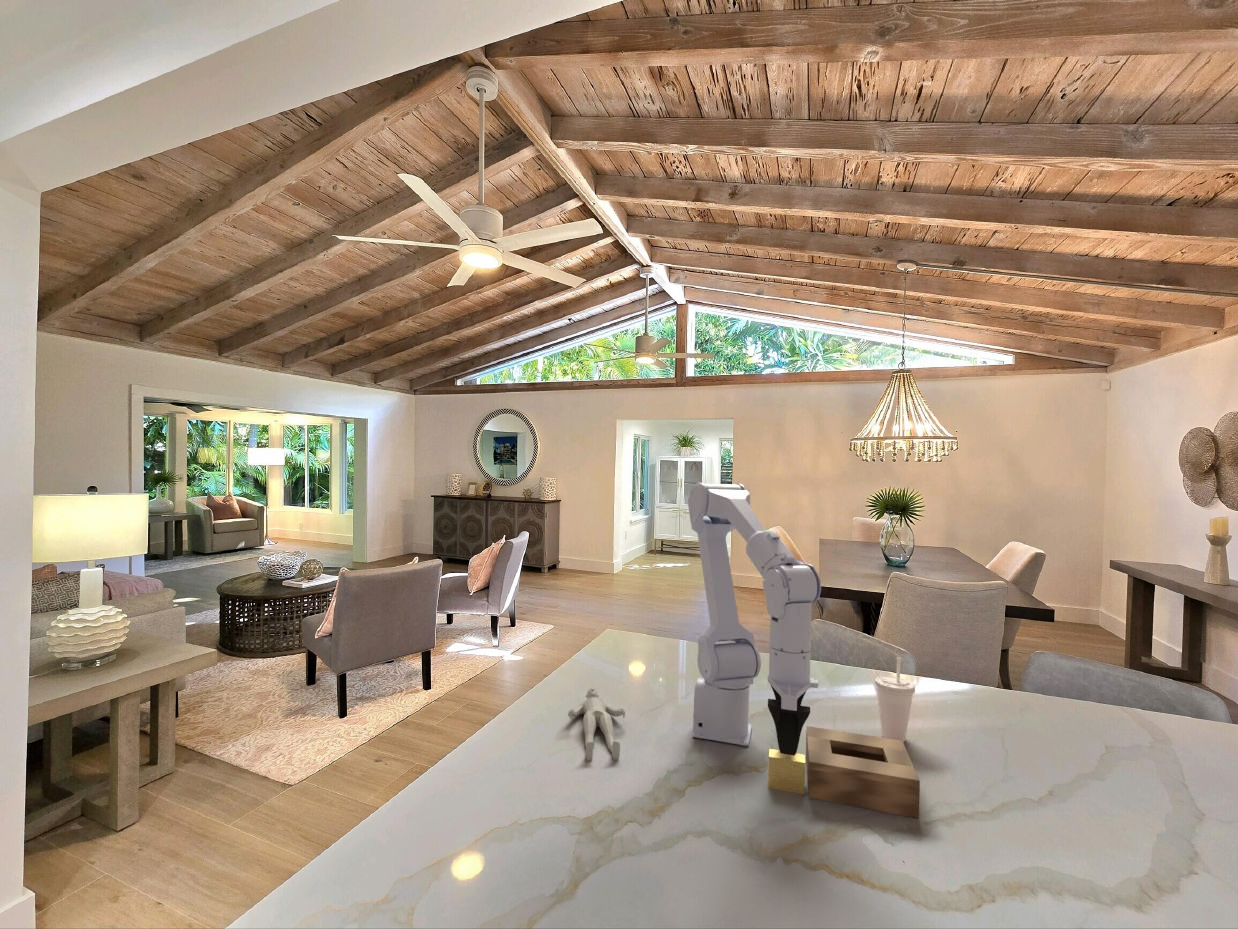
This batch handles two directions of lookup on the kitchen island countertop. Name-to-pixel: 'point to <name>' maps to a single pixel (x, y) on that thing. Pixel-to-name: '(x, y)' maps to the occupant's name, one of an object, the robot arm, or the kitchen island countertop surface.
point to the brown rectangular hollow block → (861, 771)
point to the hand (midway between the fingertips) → (787, 741)
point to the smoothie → (894, 704)
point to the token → (786, 772)
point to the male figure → (597, 722)
